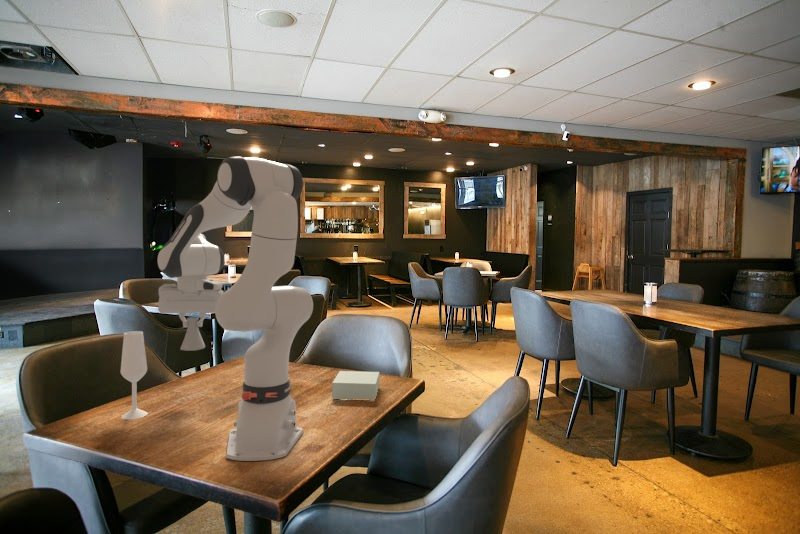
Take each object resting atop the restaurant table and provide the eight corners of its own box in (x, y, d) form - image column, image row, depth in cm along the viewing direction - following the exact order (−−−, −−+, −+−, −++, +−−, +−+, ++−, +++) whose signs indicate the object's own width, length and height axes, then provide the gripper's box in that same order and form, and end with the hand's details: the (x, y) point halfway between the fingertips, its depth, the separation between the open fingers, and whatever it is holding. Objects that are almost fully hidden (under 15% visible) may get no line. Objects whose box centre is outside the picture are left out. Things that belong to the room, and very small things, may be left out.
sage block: (375, 402, 150) (375, 383, 150) (332, 401, 151) (332, 382, 151) (379, 388, 164) (379, 371, 164) (339, 387, 165) (339, 370, 165)
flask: (209, 347, 154) (209, 317, 153) (195, 352, 147) (195, 320, 146) (190, 345, 155) (190, 316, 155) (175, 350, 148) (175, 319, 148)
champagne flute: (153, 413, 137) (152, 331, 135) (131, 421, 131) (130, 335, 129) (137, 409, 140) (136, 329, 138) (115, 416, 133) (114, 333, 132)
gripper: (154, 284, 146) (154, 328, 146) (222, 284, 148) (222, 328, 149) (162, 283, 152) (163, 325, 153) (227, 283, 154) (227, 324, 155)
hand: (192, 326), depth 151 cm, fingers closed on flask, 3 cm apart
